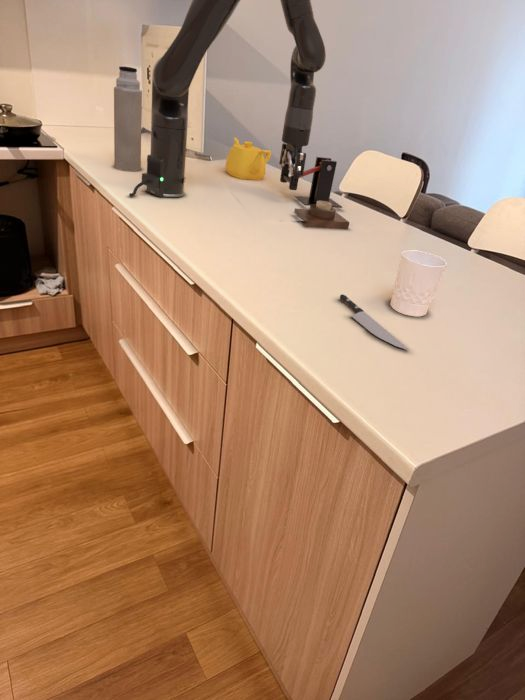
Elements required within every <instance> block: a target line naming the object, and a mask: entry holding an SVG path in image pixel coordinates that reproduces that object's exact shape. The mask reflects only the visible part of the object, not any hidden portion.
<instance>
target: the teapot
mask: <svg viewBox="0 0 525 700" xmlns="http://www.w3.org/2000/svg"><path fill="white" fill-rule="evenodd" d="M233 141H234V144H232V146H231V149H230V150H229V152H228V154H227V158H226V161H225V170H226V172H227V174H228V175H230V176H232V177H234V178H236V179H241V180H251V181H252V180H254V181H257V180H259V181H260V180H262V179H263V178H264V177H265V175H266V164H267V163H268V162H269V160H270V159H271V157H272V151H271V150H269V149H262V148H259V147H257V146H254V145H253V144H254V143H253V142H252V141H244V142H243V144H240V140H239V139H238V137H234V138H233ZM264 154H265V155H264Z"/></svg>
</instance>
